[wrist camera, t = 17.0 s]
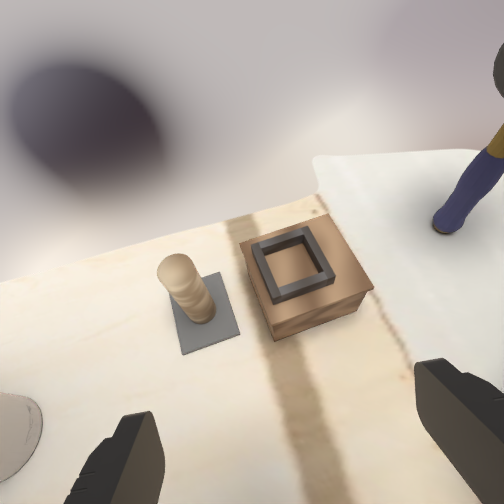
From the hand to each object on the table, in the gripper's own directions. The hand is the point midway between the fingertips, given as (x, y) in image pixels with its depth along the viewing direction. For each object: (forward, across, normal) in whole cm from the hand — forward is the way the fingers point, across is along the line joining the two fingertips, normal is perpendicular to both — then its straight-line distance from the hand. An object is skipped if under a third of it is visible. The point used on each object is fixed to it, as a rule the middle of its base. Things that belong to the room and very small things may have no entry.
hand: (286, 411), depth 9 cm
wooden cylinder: (+33, +8, +10) cm, 35 cm away
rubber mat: (+33, +8, +10) cm, 36 cm away
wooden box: (+34, -6, +10) cm, 36 cm away
